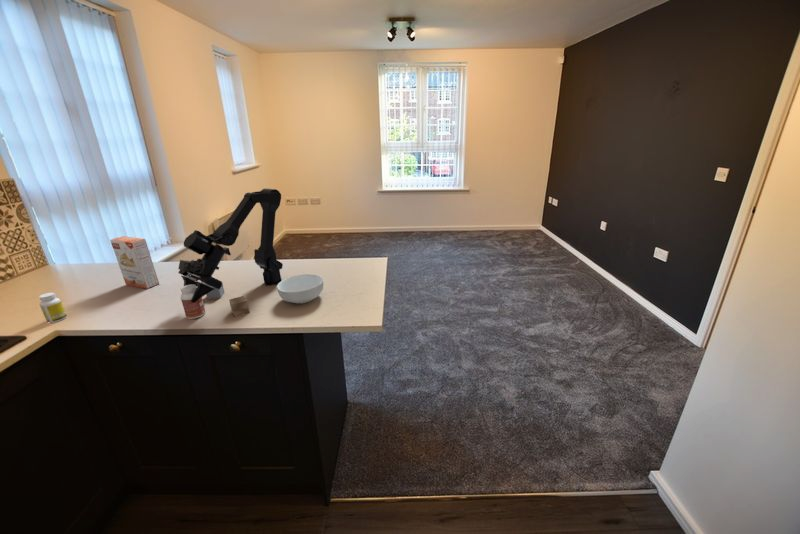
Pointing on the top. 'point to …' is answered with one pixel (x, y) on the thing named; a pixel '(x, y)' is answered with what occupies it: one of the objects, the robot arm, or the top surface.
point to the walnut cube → (239, 306)
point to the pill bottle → (189, 307)
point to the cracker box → (135, 261)
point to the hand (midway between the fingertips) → (187, 300)
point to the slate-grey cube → (216, 293)
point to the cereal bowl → (300, 288)
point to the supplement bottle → (52, 308)
